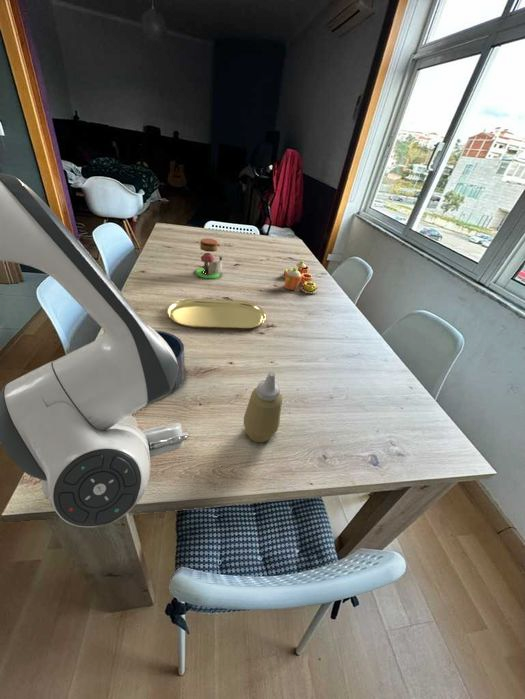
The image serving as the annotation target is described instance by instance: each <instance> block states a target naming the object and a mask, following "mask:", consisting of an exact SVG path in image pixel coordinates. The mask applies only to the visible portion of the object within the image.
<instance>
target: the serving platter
mask: <svg viewBox="0 0 525 699" xmlns="http://www.w3.org/2000/svg"><path fill="white" fill-rule="evenodd" d="M166 313H167V316H168V317H169V319H170V320H172V321H173V322H174V323H176V324H178V325H180V326H183V327H188V328H201V329H202V328H204V329H234V330H235V329H237V330H242V329H243V330H247V329H249V330H250V329H254V328H257V327H259V326H261V325H263V324H264V322H265V321H266V319H267V315H266V312H265V311H264V309H262V308H261V307H260V306H258V305H256V304H254V303H251V302H247V301H242V300H225V299H224V300H223V299H204V298H203V299H202V298H186V299H181V300H177V301H174V302H173V303H171V304H170V305H169V306H168V307H167V312H166Z"/></svg>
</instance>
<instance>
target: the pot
mask: <svg viewBox="0 0 525 699" xmlns="http://www.w3.org/2000/svg"><path fill="white" fill-rule="evenodd" d="M154 330H155V331H156V332H157V333H158V334H159V335H160V336H161V337H162V338H163V339H164V340H165V341H166V342H167V344H168V345H169V346H170V348H171V349H172V351H173V353H174V355H175V357H176V360H177V364H178V366H179V371H178V375H177V378H176V381H175V384H174V386H173V389H172V391H171V393H170V394H172V393H174V392H175V391H176V390H178V389H179V388H180V387H181V385H182V384H183V382H184V380H185V376H186V374H185V370H186V369H185V344H184V343H183V341H182V340H181V338H179V337H178V336H177V335H175V334H172V333H170V332H167V331H163V330H157V329H154Z"/></svg>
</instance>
